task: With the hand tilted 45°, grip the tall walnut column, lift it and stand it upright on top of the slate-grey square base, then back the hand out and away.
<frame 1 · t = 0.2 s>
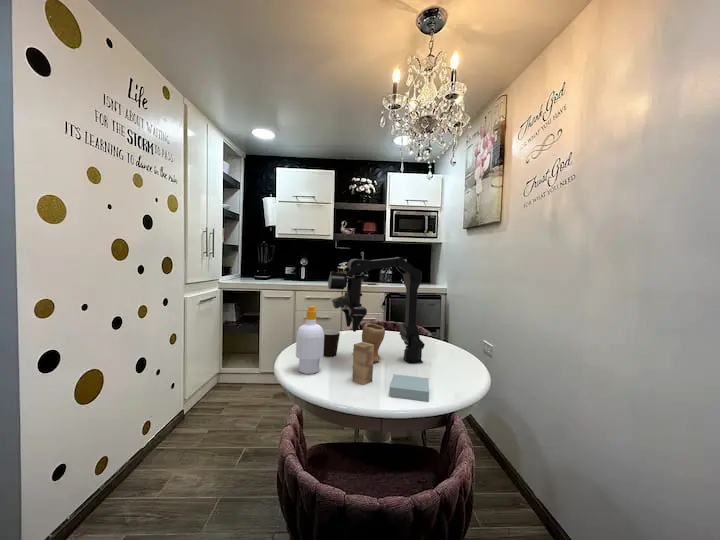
hand: (351, 328, 131), 14 cm above the table, tool pointing down, fingers open, 9 cm apart
coffee mug: (331, 354, 144), on the table
sandstone flared vase: (368, 358, 141), on the table
walnut column: (362, 381, 114), on the table
slate base: (409, 391, 107), on the table
soap bottle: (309, 371, 122), on the table
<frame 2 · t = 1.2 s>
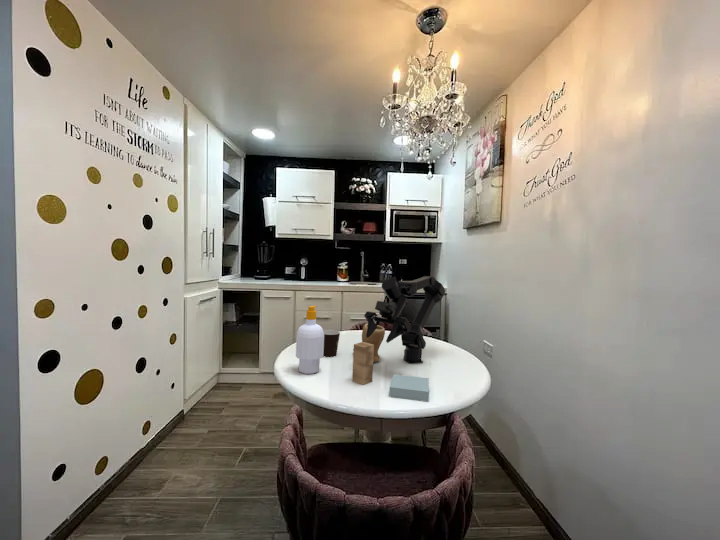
hand: (376, 339, 119), 13 cm above the table, tool tilted 45°, fingers open, 9 cm apart
nothing on the table moved.
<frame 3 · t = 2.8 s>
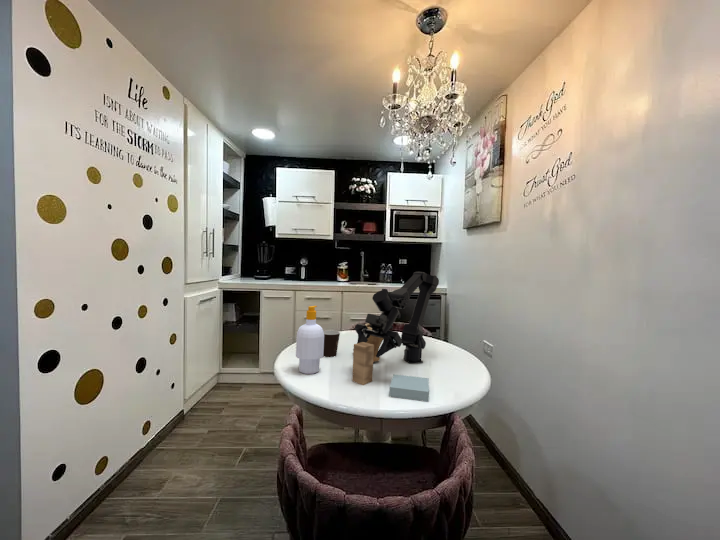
hand: (366, 353, 115), 9 cm above the table, tool tilted 45°, fingers open, 9 cm apart
nothing on the table moved.
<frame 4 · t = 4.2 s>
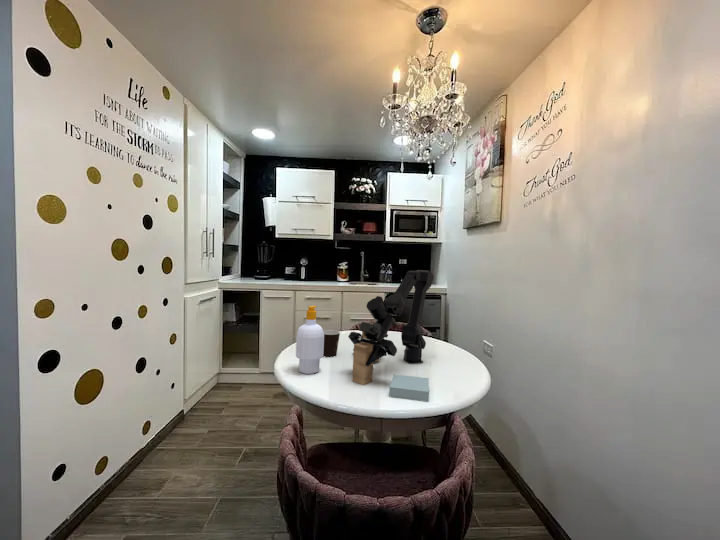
hand: (360, 363, 113), 7 cm above the table, tool tilted 45°, fingers closed on walnut column, 5 cm apart
walnut column: (362, 381, 114), on the table, touching gripper
everything else where it was.
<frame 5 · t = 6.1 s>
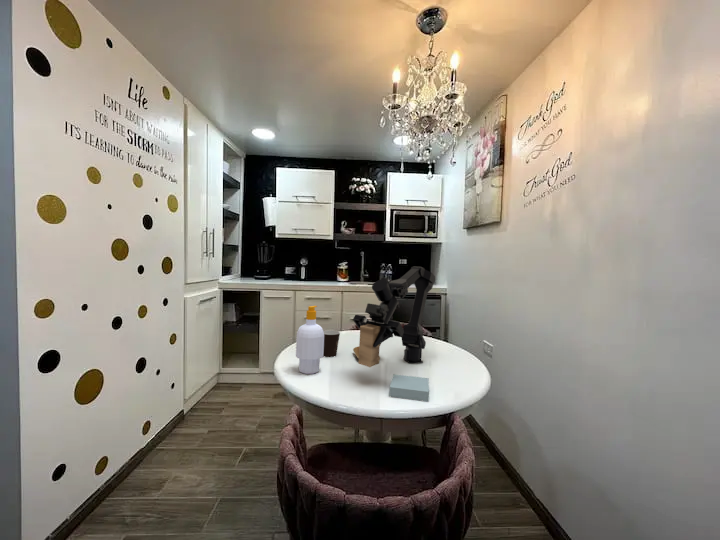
hand: (367, 345, 111), 13 cm above the table, tool tilted 45°, fingers closed on walnut column, 5 cm apart
walnut column: (368, 363, 112), point 7 cm above the table, touching gripper
everything else where it was.
when the fingers open (11 cm above the table, at t = 8.3 s): walnut column drops 1 cm, resting on slate base.
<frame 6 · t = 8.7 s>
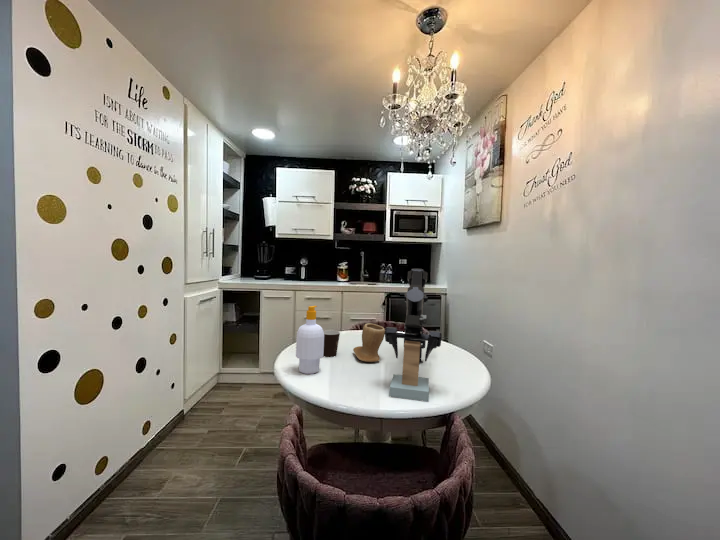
hand: (411, 359, 105), 11 cm above the table, tool tilted 45°, fingers open, 9 cm apart
walnut column: (410, 382, 107), point 3 cm above the table, touching slate base
everything else where it was.
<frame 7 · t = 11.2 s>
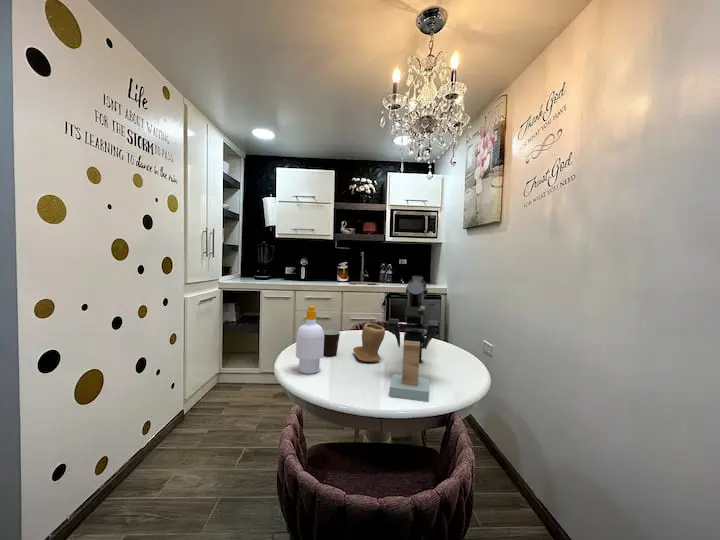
hand: (412, 347, 114), 13 cm above the table, tool tilted 45°, fingers open, 9 cm apart
nothing on the table moved.
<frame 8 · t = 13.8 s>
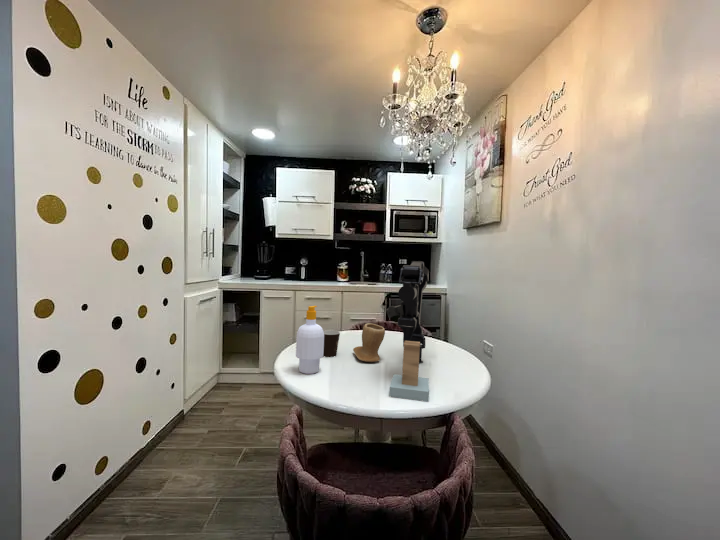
hand: (408, 340, 121), 13 cm above the table, tool pointing down, fingers open, 9 cm apart
nothing on the table moved.
at the end: walnut column inside the target area on the slate base (0.1 cm from its centre), point 3.0 cm above the slate base's base; walnut column tilted 0°; the gripper is holding nothing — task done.
